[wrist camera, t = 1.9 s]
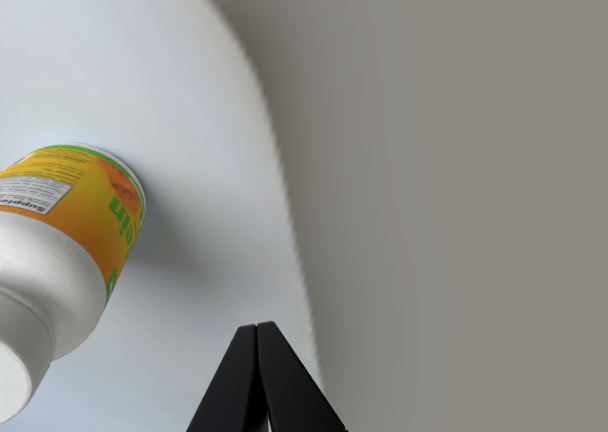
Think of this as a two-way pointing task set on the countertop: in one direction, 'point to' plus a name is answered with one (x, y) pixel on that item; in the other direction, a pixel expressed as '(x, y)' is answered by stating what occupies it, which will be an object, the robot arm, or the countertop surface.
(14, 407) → the supplement bottle
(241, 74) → the countertop surface
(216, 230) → the countertop surface
